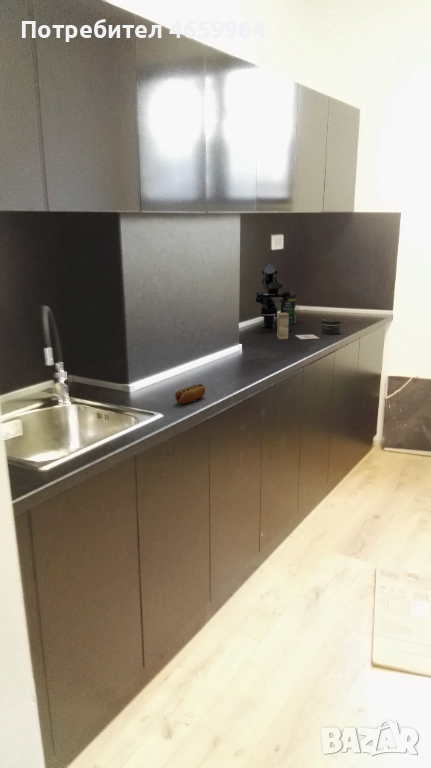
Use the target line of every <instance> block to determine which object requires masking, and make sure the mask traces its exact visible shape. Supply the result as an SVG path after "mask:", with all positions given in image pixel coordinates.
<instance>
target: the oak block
mask: <svg viewBox="0 0 431 768" xmlns="http://www.w3.org/2000/svg"><path fill="white" fill-rule="evenodd" d="M289 325H290V324H289V314H288V313H280V312H277V326H276V327H277V332H276V338H277V339H278V340H287V339H288V340H289Z"/></svg>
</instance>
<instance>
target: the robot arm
mask: <svg viewBox="0 0 431 768" xmlns="http://www.w3.org/2000/svg"><path fill="white" fill-rule="evenodd" d="M278 271H279V270H278V268H276V266H275V265H272V264H271V263H268V264H267V265H266V266H263V268H262V272H261V273H262V286H263V289H264V290H265V291H256V292H255V296H254V301H255V302H256V303H258V304H260V305H261V310H260V311H261V312H260V313H261V316H260V317H261V318H263V325H262V327H261V328H262V329H274V328H275V327H276V325H274V323H275V321H274V320H275V318H278V307H277V306H276V302H275V299H280V298H281V300H282V301H280V304H281V303H282V307H283V309H284V308H285V302H287V301H288V300H289V298H290V296H291V293H290V292H291V291H290V290H282V292H281V293H282V294H281V293H279V291H280V290H279V289H281V288H283V286H284V283H283V281H282V280H281V281H280V280H279V281H278V278H277V277H278V275H277V274H278V273H279V272H278Z"/></svg>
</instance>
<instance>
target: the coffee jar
mask: <svg viewBox="0 0 431 768" xmlns="http://www.w3.org/2000/svg"><path fill="white" fill-rule="evenodd" d="M290 293H291V296H290V298H289V300H288V301H287V302H285V308H284V309H283V307H282V303H281V301H282V300H281V298H279V300H280V310H279V311H280V312H279V313H288V314H289V324H288V325H295V324H296V323H297V321H296V320H297V319H296V318H297V316H296V315H297V314H296V303H297V300H298V299H297V292H294V291H290ZM280 294H282V292H280Z"/></svg>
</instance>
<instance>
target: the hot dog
mask: <svg viewBox="0 0 431 768" xmlns="http://www.w3.org/2000/svg"><path fill="white" fill-rule="evenodd" d="M205 394H206V387H205V386H204V384H202V383H199V384H193V385H189V386H187V387H184V388H180V389H178V390H177V391H176V392H175V393H174V398H175V401H176V402H177V403H178V404H179V405H180V404H181V405H186V404H185V403H187V404H189V403H188V402H191V401H194V400H196V399H198V400H200V399H202V398H203V396H204V395H205ZM201 397H202V398H201ZM199 398H200V399H199ZM196 401H197V400H196ZM194 402H195V401H194ZM191 403H192V402H191Z"/></svg>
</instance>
